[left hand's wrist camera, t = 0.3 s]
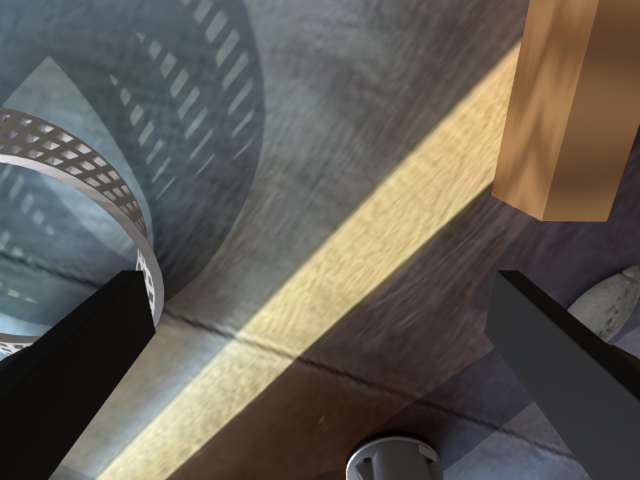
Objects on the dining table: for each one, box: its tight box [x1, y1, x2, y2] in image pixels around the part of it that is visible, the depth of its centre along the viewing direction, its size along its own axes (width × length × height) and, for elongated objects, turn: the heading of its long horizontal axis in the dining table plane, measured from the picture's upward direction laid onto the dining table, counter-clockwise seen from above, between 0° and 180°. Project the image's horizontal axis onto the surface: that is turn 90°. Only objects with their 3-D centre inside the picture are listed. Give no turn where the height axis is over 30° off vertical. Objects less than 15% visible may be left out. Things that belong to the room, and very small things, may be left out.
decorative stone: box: [567, 265, 640, 342], centre depth 43 cm, size 6×16×3 cm, turn 154°
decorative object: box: [0, 107, 164, 355], centre depth 39 cm, size 31×30×6 cm
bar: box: [491, 0, 640, 221], centre depth 30 cm, size 28×6×10 cm, turn 179°
